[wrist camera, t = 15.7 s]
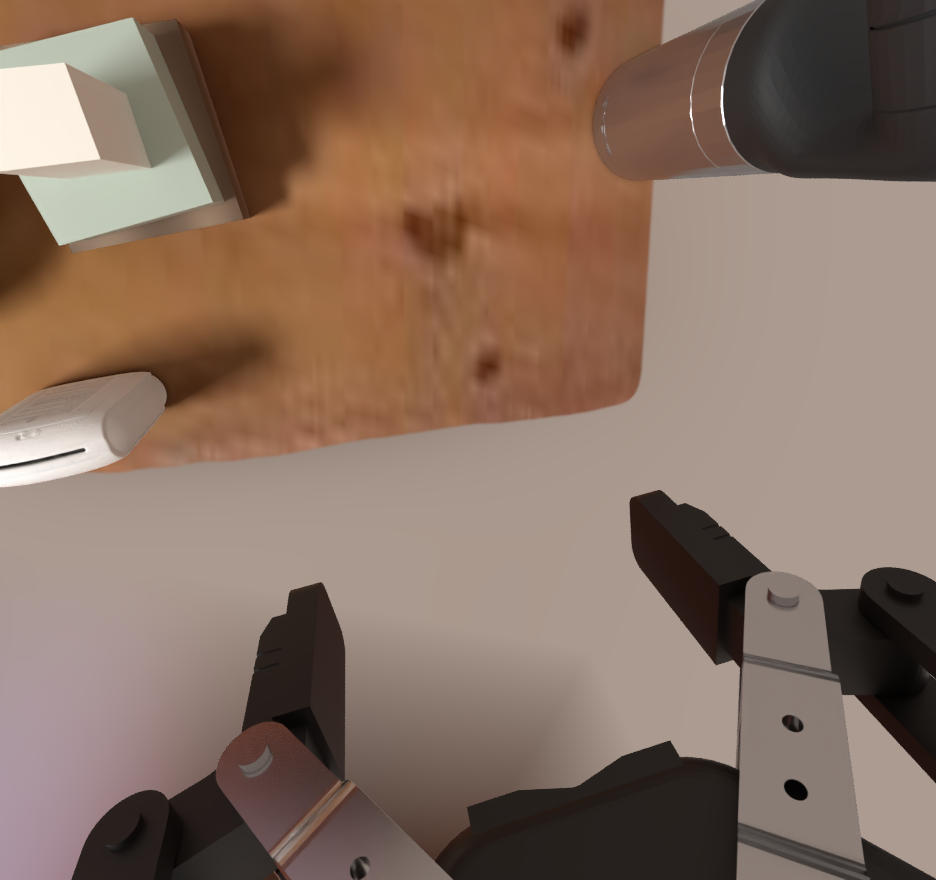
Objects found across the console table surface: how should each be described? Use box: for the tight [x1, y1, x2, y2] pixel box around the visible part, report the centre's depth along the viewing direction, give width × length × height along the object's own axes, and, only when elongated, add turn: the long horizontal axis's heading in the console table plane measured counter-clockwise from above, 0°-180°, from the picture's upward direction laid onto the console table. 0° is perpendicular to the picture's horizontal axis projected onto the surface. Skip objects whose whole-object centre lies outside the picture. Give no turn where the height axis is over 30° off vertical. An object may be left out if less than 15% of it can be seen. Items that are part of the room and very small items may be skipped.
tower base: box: [0, 19, 250, 253], centre depth 38 cm, size 12×12×4 cm
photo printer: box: [0, 372, 167, 487], centre depth 40 cm, size 10×4×12 cm, turn 98°
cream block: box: [0, 63, 151, 179], centre depth 29 cm, size 5×4×8 cm
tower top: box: [0, 17, 225, 246], centre depth 34 cm, size 10×10×4 cm
